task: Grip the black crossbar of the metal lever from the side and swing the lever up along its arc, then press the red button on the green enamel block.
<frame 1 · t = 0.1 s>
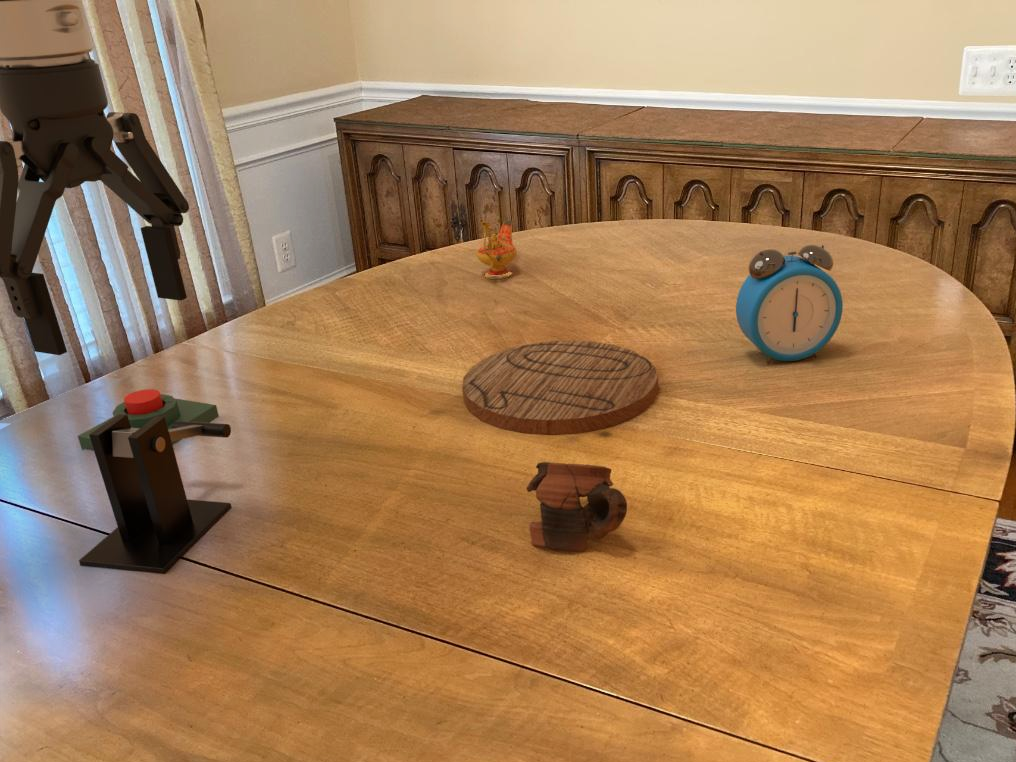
hand: (115, 323, 84), 24 cm above the table, tool pointing down, fingers open, 13 cm apart
pottery mug: (580, 531, 97), on the table
lever: (166, 435, 97), point 9 cm above the table, hinge at -20.0°
button block: (153, 436, 118), on the table
alarm clock: (785, 356, 134), on the table
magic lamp: (500, 272, 171), on the table
button: (143, 402, 116), point 4 cm above the table, slide at 0.1 cm
trivet: (560, 391, 126), on the table
bracket: (160, 540, 97), on the table
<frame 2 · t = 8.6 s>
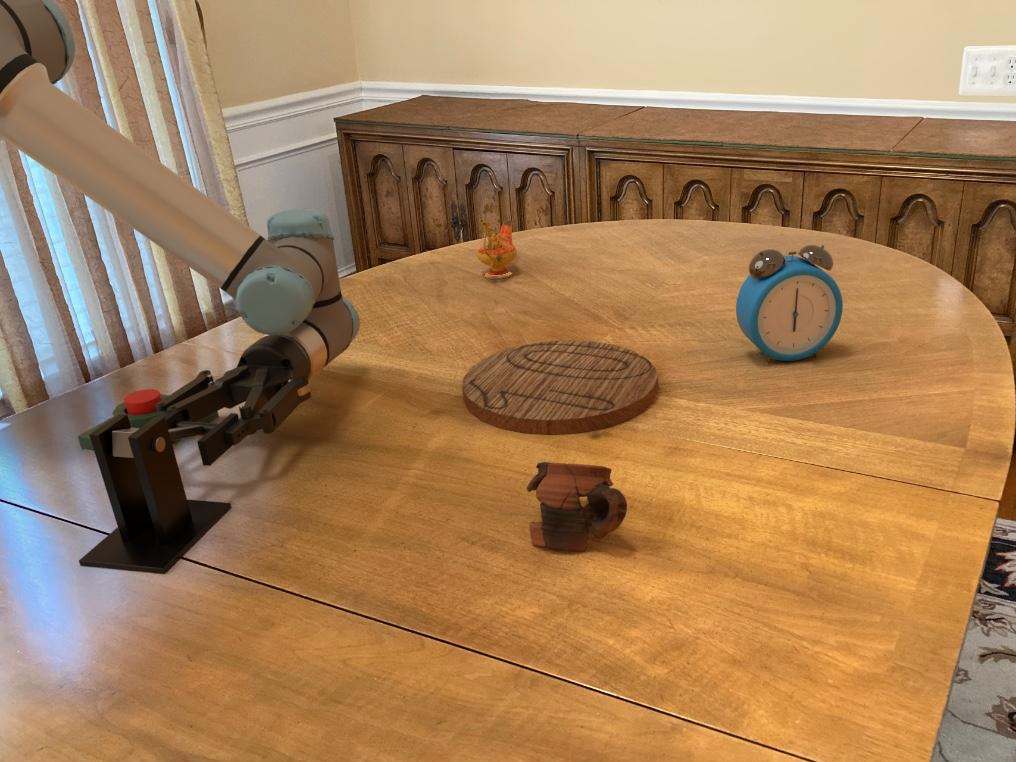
hand: (173, 451, 98), 7 cm above the table, tool horizontal, fingers closed on lever, 6 cm apart
lever: (166, 435, 97), point 9 cm above the table, hinge at -20.0°, touching gripper
everything else where it was.
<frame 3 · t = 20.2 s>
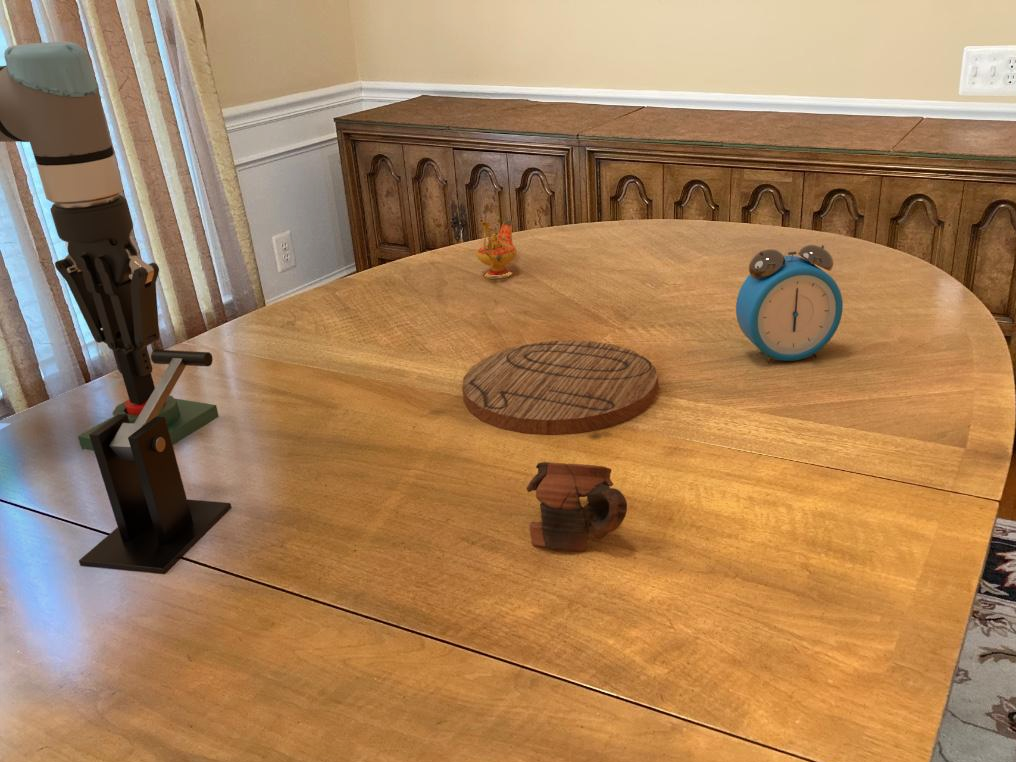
hand: (143, 398, 116), 5 cm above the table, tool pointing down, fingers closed
lever: (156, 401, 95), point 13 cm above the table, hinge at 23.8°
button: (145, 407, 116), point 4 cm above the table, slide at -0.5 cm, touching gripper
everything else where it was.
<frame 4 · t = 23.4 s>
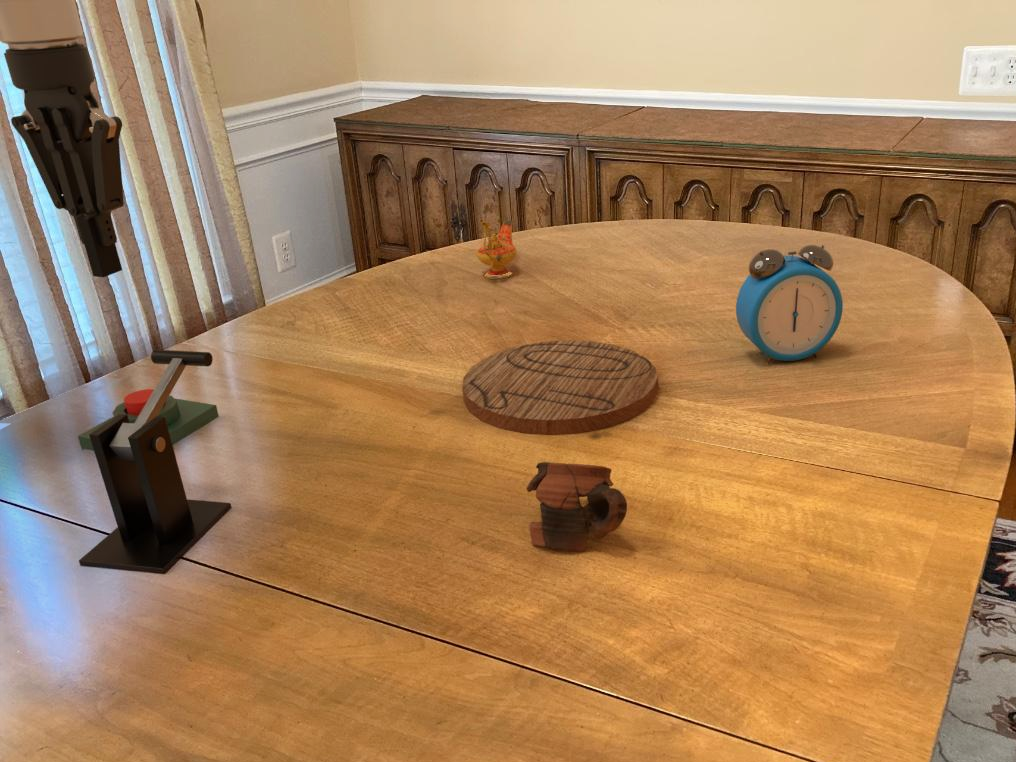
hand: (107, 272, 108), 20 cm above the table, tool pointing down, fingers closed
button: (143, 402, 116), point 4 cm above the table, slide at 0.1 cm
everything else where it was.
at the end: lever at +24° (first picture: -20°); button pushed in 1.0 cm at the most during the clip, back to where it started at the end; button slide at 0.1 cm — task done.
